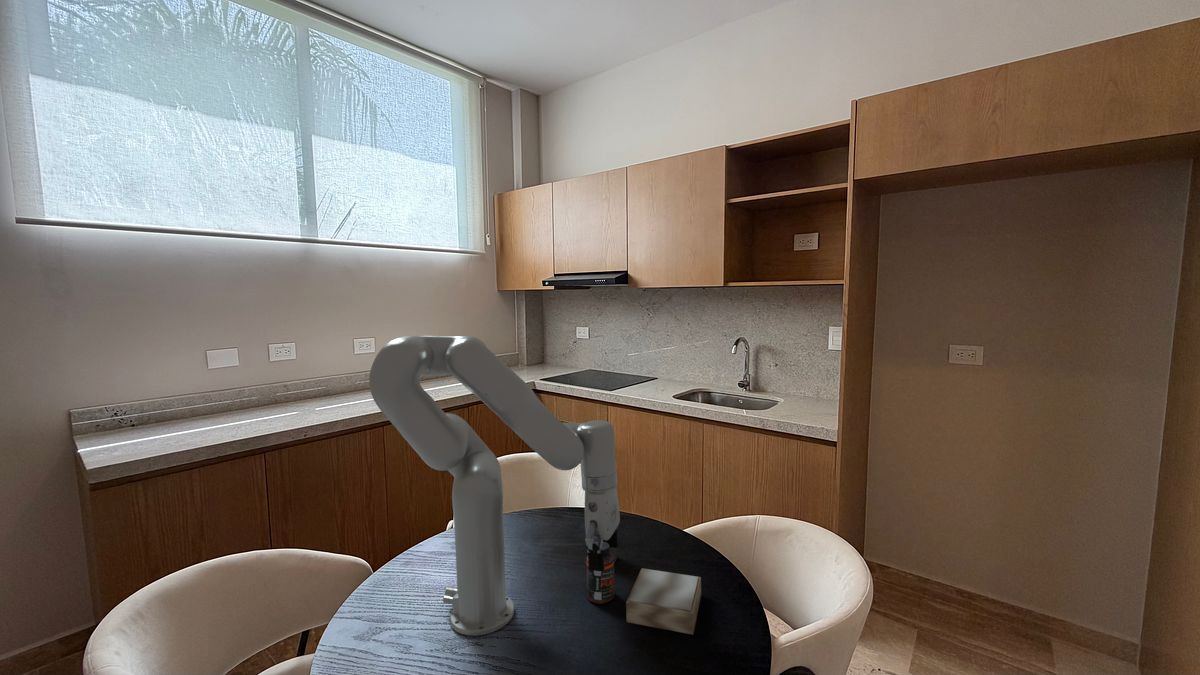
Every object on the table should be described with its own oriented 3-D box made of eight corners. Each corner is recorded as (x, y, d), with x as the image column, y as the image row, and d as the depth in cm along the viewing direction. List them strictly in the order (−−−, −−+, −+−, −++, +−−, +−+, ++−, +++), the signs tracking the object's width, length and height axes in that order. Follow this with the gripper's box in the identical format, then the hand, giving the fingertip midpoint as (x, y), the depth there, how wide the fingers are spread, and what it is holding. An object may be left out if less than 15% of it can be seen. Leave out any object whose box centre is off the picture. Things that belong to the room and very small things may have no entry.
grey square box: (626, 621, 94) (626, 600, 93) (641, 585, 106) (641, 566, 106) (693, 634, 89) (692, 612, 89) (701, 595, 102) (700, 575, 102)
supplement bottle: (603, 608, 98) (602, 555, 97) (581, 598, 102) (580, 547, 101) (620, 594, 103) (619, 543, 102) (598, 585, 106) (597, 536, 106)
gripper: (603, 497, 92) (608, 582, 93) (627, 467, 108) (631, 540, 109) (567, 494, 94) (572, 578, 95) (595, 465, 110) (600, 537, 111)
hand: (603, 557), depth 102 cm, fingers open, 9 cm apart
